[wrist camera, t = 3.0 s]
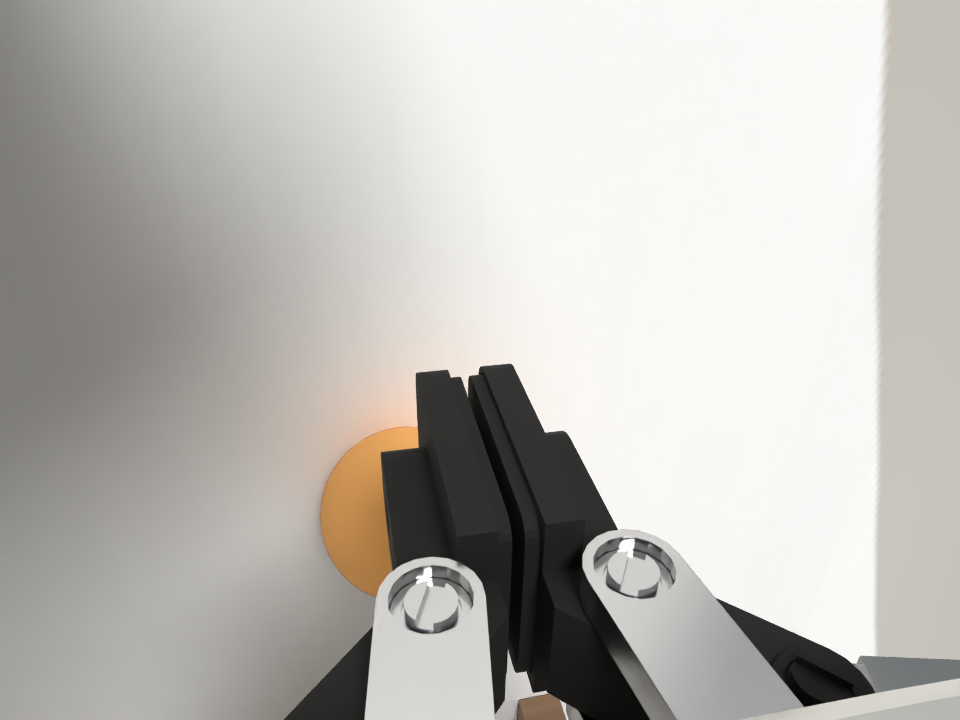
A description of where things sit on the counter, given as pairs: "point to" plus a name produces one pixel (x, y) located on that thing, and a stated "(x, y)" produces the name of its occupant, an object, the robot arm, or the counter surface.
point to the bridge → (541, 708)
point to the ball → (361, 510)
